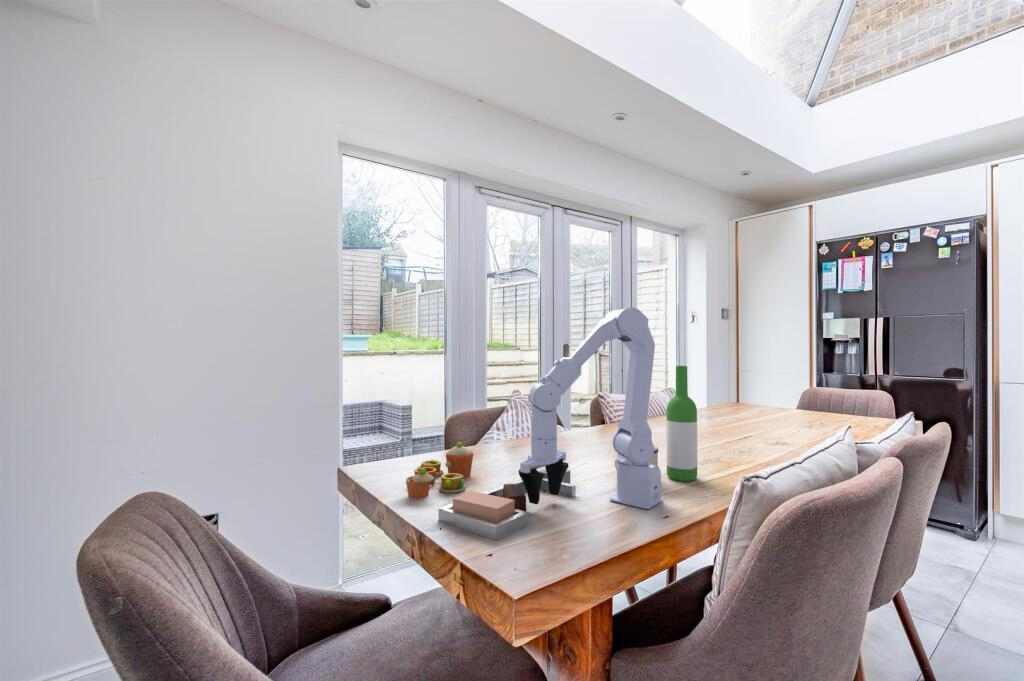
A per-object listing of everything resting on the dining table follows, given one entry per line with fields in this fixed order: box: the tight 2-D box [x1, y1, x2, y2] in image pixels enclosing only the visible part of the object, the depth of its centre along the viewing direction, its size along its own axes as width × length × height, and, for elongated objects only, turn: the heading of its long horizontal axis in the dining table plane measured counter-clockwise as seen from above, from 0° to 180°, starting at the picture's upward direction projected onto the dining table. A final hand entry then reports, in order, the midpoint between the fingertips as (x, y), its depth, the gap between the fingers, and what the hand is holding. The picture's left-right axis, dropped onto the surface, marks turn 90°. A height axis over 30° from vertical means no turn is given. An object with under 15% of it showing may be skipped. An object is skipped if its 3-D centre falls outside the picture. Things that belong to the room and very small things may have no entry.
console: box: [537, 468, 571, 484], centre depth 122 cm, size 6×6×4 cm
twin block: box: [452, 490, 514, 523], centre depth 97 cm, size 6×11×5 cm, turn 57°
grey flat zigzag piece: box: [438, 478, 577, 542], centre depth 105 cm, size 16×31×2 cm, turn 140°
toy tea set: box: [405, 441, 474, 500], centre depth 123 cm, size 26×16×10 cm, turn 179°
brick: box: [502, 483, 527, 512], centre depth 104 cm, size 11×4×5 cm, turn 7°
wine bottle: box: [666, 365, 698, 482], centre depth 128 cm, size 8×8×30 cm
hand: (544, 498), depth 106 cm, fingers open, 7 cm apart
